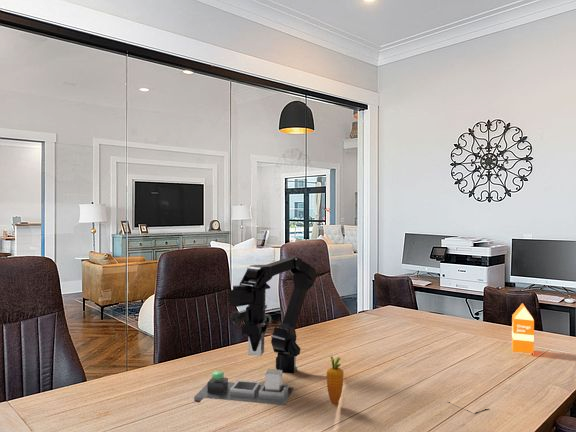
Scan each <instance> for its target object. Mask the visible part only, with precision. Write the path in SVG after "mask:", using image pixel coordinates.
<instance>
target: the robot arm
mask: <svg viewBox="0 0 576 432" xmlns="http://www.w3.org/2000/svg"><path fill="white" fill-rule="evenodd" d="M287 271H289V272H290V273H291V274H292V283H293V290H292V292H291V296H290V299H289V302H288V304H287V308H286V311H285V314H284V317H283V320H282V321H281V322H282V323H281V324H280V325H279V326H275V327H274V329H273V332H272V334H271V336H270V338H271V341H270V343H271V346H272V349H273V352H274V353H277V356H276V358H275V370H282V374H295V373H296V370H297V366H296V365H297V364H296V363H297V357H298V355H300V354H301V350H302V348H301V347H300V346H299V345H298V344H297V342H296V341H297V334H296V333H297V332H296V326H297V323H298V320H299V317H300V313H301V310H302V307H303V304H304V301H305V298H306V295H307V292H308V291H309V290H310V289H311V288H312V287H313V286H314V284H315V281H316V280H317V276H318V273H317V271H316V268H314V267H313V266H311V265H310V264H308V263H306V262H305V261H304V260H303V259H302V258H300V257H299V256H292V255H290V256H287V257H286V258H282V259H279V260H276V261H273V262H270V263H267V264H251V265H249V266H248V267H247V269H246V271H245V273H244V275H243V277H242V278H241V280H240V282H239V284H238V285H233V286H232V289H231V290H230V292H229V295H228V302H229V304H230V305H231V307H233V308H238V307H244V306H246V308H245V309H244V310H241V311H238V310H237V311H233V312H232V314H231V316H230V322H232V323H233V325H237V324H238V323H242V322H245V323H244V324H243V325H242V326H241V327H240V334H241V335H246V336H249V339H250V342H251V346H252V350H253V351H256V350H257V347H258V345H259V342H260V339H261V336H262V333H263V332H264V337H265V335H266V333H267V330H268V328H269V324H271V322H272V316H271V315H270V314H269V313H266V309H267V307H268V305H267V304H266V293H267V292H266V290H270V289H271V286H270V285H269V284H268V282H269V281H270V280H272V278H273V277H274V276H276V275H280V274H282V273H284V272H287ZM247 305H248V306H247ZM265 322H266V323H267V324H266V323H265Z"/></svg>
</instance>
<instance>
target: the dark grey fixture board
mask: <svg viewBox="0 0 576 432" xmlns="http://www.w3.org/2000/svg"><path fill="white" fill-rule="evenodd" d="M293 390H294V387H292V386H289V384H283V383H282V392H269V391H265V382H264V383H263V384H261V381H248V380H236V381H235V382H230V381H229V378H228V377H224V378H223V379H220V380H214V379H212V377H211V378H210V379H209V380H207V383H206V384H205V386H203V387H202V389H200V390H199V392H197V393H196V395H194V397H193V401H195V402H201V401H202V400H203V399H211V400H212V399H214V400H222V401H223V400H224V401H226V400H227V401H233V402H234V401H235V402H245V403H247V402H248V403H256V404H257V403H258V404H267V405H277V406H278V405H280V406H286V405H287V402H288V400H289V398H290V396H291V395H292V393H293Z"/></svg>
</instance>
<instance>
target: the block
mask: <svg viewBox="0 0 576 432" xmlns="http://www.w3.org/2000/svg"><path fill="white" fill-rule="evenodd" d="M264 375H265V376H264V379H265V380H264V383H265V391H269V392H282V384H283V373H282V370H277V369H276V368H275V369H274V368H268V369H267V371H266V372H265V373H264Z"/></svg>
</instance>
